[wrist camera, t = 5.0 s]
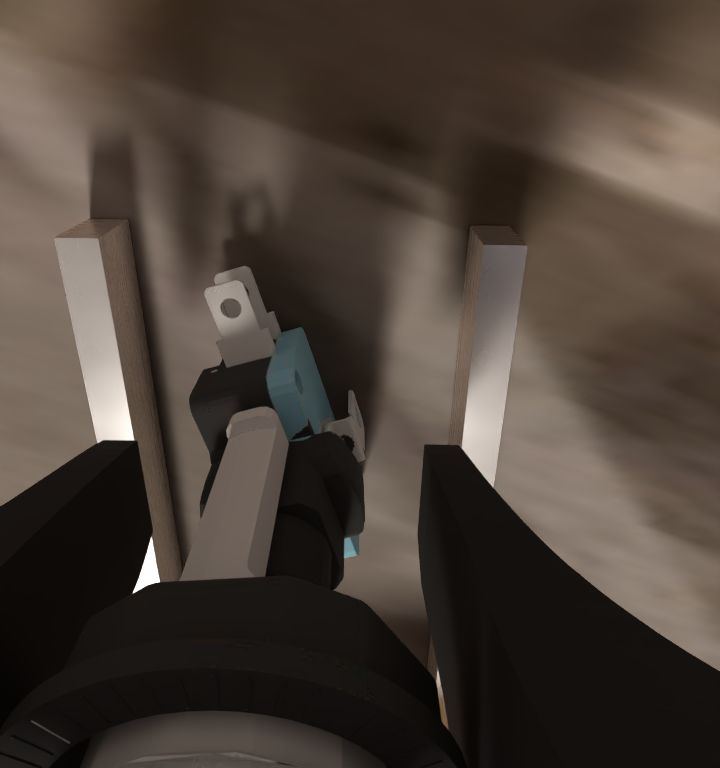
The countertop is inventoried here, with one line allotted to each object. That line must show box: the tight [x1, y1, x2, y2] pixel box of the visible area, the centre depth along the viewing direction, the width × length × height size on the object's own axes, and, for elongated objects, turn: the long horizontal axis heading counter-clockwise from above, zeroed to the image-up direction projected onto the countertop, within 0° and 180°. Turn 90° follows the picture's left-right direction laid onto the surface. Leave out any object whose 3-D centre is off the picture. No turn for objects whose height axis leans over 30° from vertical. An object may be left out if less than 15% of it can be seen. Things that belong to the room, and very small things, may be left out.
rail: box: [54, 219, 527, 730], centre depth 14 cm, size 9×16×5 cm, turn 179°
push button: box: [0, 266, 468, 768], centre depth 10 cm, size 7×5×10 cm
